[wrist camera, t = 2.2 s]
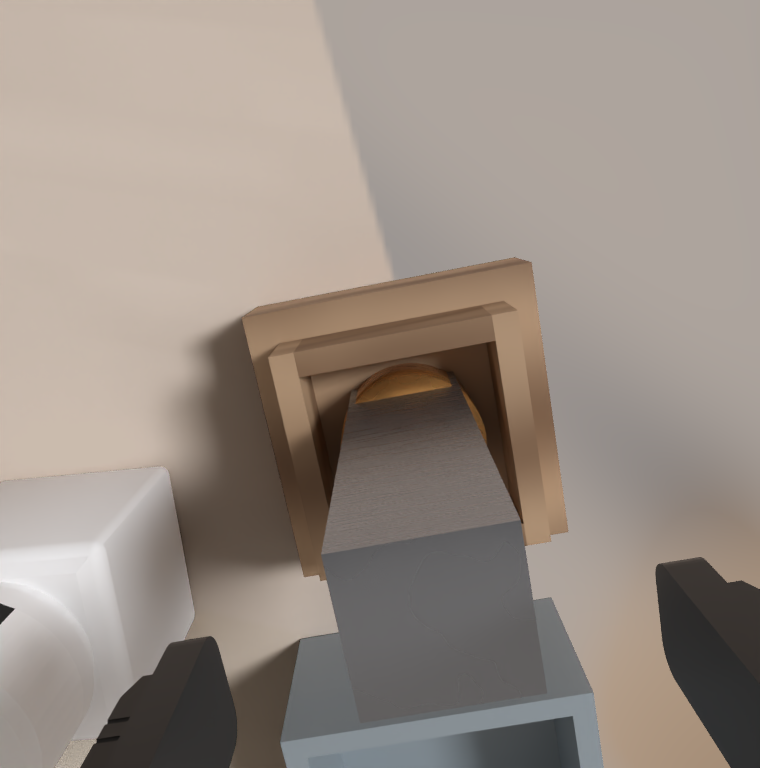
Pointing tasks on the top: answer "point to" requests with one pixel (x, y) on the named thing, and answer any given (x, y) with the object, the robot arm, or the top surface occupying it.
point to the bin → (444, 717)
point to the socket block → (399, 346)
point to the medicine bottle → (83, 602)
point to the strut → (426, 553)
